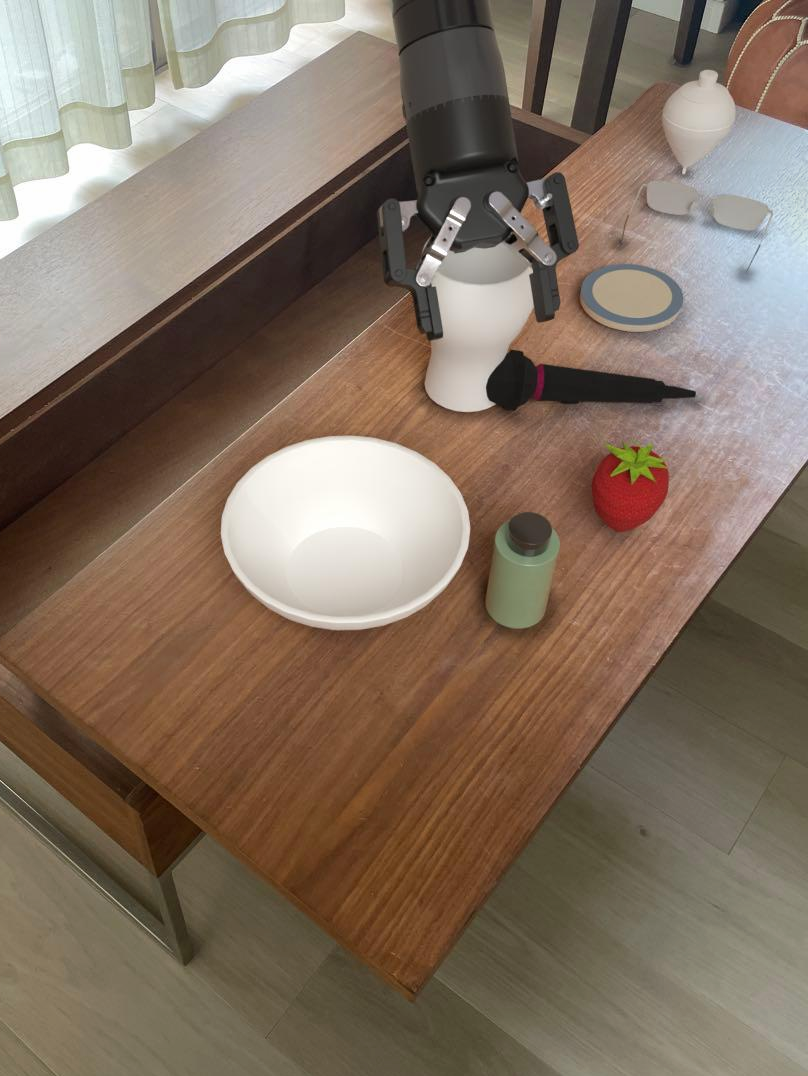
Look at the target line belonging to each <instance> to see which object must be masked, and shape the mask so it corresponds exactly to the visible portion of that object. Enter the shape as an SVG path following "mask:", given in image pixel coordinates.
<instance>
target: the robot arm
mask: <svg viewBox="0 0 808 1076" xmlns="http://www.w3.org/2000/svg"><path fill="white" fill-rule="evenodd" d="M390 9H391V16H392V24H393V30H394V36H395V41H396V47H397V48H396V49H397V54H398V62H399V78H400V79H399V81H400V94H401V101H402V105H401V110H402V111H401V112H402V116H403V118H404V121H405V126H406V132H407V137H408V138H407V139H408V144H409V151H410V156H411V157H410V158H411V162H412V168H413V170H412V171H413V175H414V176H413V177H414V182H415V187H416V195H415V200H414V199H413V200H402V201H399V200H398V199H397V198H393V197H389V198H387V199H386V200H385V201H384V202H383V203H382V205H380V207H379V208H378V209H377V212H376V217H377V228H378V237H379V247H380V256H381V265H382V275H383V282H384V284H385V285H386V286H388V287H389V288H394V287H396V288H401V289H406V290H407V291H409V293H410V295H411V299H412V303H413V310H414V315H415V316H414V317H415V320H416V328H417V330H418V332H419V333H420V335H425V334H426V339H427V342H431V341H433V340H438V339H441V338H443V328H442V321H441V315H440V309H439V303H438V297H437V291H436V286H435V287H432V284H431V282H432V280H433V278H434V276H435V274H436V272H437V270H438V268H439V266H440V264H441V262H442V261H443V259H444V258H445V256H446V255H447V253H448V251H449V250H450V251H453V252H454V253H461V252H465V251H468V250H470V249H472V248H483V249H486V248H492V247H495V246H497V245H498V244H500V243H501V242H502V243H503V244H504V245H505V246H506V247H507V248H508V249H509V250H510V251H511V252H513V253H516V254H517V255H518V256H520V257H521V258H522V259H523V260H524V261H525V262H526V263H527V264H528V265H529V266H530V267H531V268H532V269H533V273H531V274H529V278H530V284H531V291H532V297H533V304H534V308H533V310H534V316H535V320H536V322H537V323H539V324H540V323H546V322H549V321H552V320H554V319H555V317H556V312H557V311H559V310H560V307H561V297H560V290H559V284H558V278H557V270H556V268H557V265H558V264H559V262H560V261H562V260H564V259H565V258H566V257H569V256H570V255H572V254H574V253H576V252H577V251H578V250H579V247H580V243H579V238H578V233H577V229H576V228H577V227H576V224H575V220H574V215H573V210H572V205H571V201H570V196H569V192H568V191H569V190H568V186H567V181H566V177H565V175H564V174H563V173H562V172H560V171H555V172H553V173H551V174H549V175H548V176H547V177H543V178H540V179H535V180H531V181H527V182H526V180H525V179H524V177H523V176H522V174H521V172H520V168H519V157H518V152H517V151H518V150H517V143H516V137H515V131H514V124H513V118H512V111H511V104H510V97H509V92H508V85H507V79H506V72H505V67H504V63H503V62H504V61H503V59H502V55H501V51H500V49H499V45H498V42H497V37H496V33H495V26H494V19H493V13H492V12H493V11H492V6H491V0H390ZM528 199H530V200H531V201H532V202H533V205H534V207H536V209H538V210H542V216H543V219H544V220H543V221H544V224H545V230H546V234H547V240H548V243H547V242H545V240H544V239H543V238H542V237H541V236H540V234H539V232H538V230H537V228H536V227H535V226H534V225H533V224H532V223H531V222H530V221H528V219H527V218H526V217H525V216H524V215H522V211H523V209H524V207H525V206H526V203H527V201H528ZM413 216H414V217H415V219H416V220H417V221H418V222H419V223H420V224H421V225H422V227H424V228H425V229H426V230H427V231H428V232H429V233H430V237H429V238H430V239H429V238H428V239H429V241H428V240H427V241H428V242H427V241H426V242H427V244H426V243H425V244H426V246H425V248H424V247H423V248H424V250H423V249H422V251H423V252H421V255H420V257H419V260H418V262H417V264H416V266H415V268H410V267H407V260H406V251H405V242H404V241H405V240H404V239H405V238H404V232H405V231H407V229H408V228H410V224H411V218H412V217H413Z"/></svg>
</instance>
